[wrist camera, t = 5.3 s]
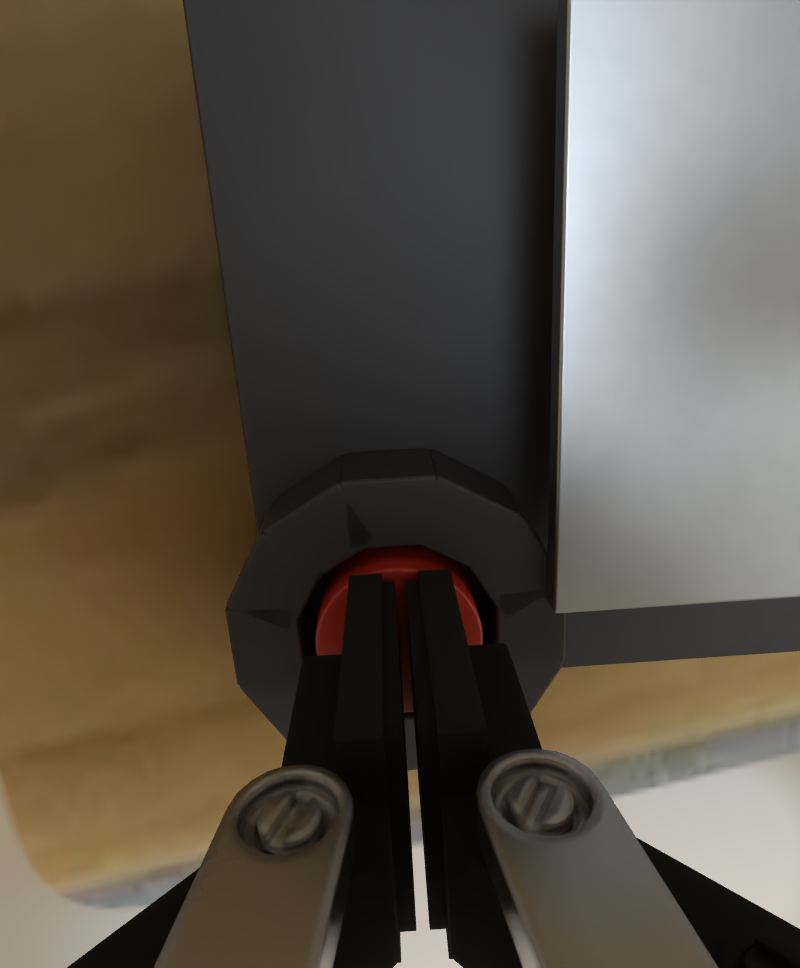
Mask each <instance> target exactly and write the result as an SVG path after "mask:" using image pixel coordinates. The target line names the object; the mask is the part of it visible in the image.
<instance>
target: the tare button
mask: <svg viewBox="0 0 800 968" xmlns="http://www.w3.org/2000/svg"><path fill="white" fill-rule="evenodd" d="M438 569H450V570H451V574H452V578H453V583H454V587H455V591H456V596H457V600H458V604H459V609H460V613H461V617H462V622H463V626H464V630H465V634H466V639H467V643H468V645H483V631H482V625H481V621H480V617H479V613H478V610H477V606H476V603H475V599H474V596H473V592H472V589H471V585H470V582H469V578H468V576H467V573H466V571H465V569H464V567H463V566H462V564H461V563H459V562H457V561H455V560H453V559H450V558H448V557H446V556H444V555H441V554H439V553H437V552H435V551H432V550H430V549H428V548H426V547H424V546H421V545H412V546H397V547H382V548H367V549H364V550H362V551H360V552H359V553H357V554H356V555H354V556H352V557H351V558H349V559H347V560H346V561H344V562H343V563H341V564H339V565H338V566H336V567H335V568H333V569H331V570H330V571H329V572H328V574H327V577H326V579H325V583H324V587H323V592H322V598H321V604H320V610H319V616H318V622H317V629H316V637H315V643H316V652H317V656H319V655H334V654H342V646H343V636H344V625H345V615H346V604H347V594H348V583H349V575H362V574H378V573H382V579H383V582H387V581H395V586H396V601H397V616H398V631H399V645H400V660H401V675H402V690H403V705H404V713H406V712H414V711H413V695H412V678H411V662H410V646H409V629H408V613H407V597H406V580H417V579H418V571H423V570H438Z"/></svg>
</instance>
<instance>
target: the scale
mask: <svg viewBox="0 0 800 968" xmlns="http://www.w3.org/2000/svg"><path fill="white" fill-rule="evenodd" d="M183 6H184V13H185V20H186V27H187V34H188V41H189V48H190V55H191V62H192V69H193V77H194V84H195V91H196V98H197V105H198V112H199V119H200V126H201V133H202V141H203V148H204V155H205V162H206V169H207V176H208V183H209V190H210V197H211V205H212V212H213V219H214V226H215V233H216V240H217V247H218V254H219V261H220V268H221V276H222V283H223V290H224V297H225V304H226V311H227V318H228V325H229V332H230V340H231V347H232V354H233V361H234V368H235V375H236V382H237V389H238V396H239V403H240V411H241V418H242V425H243V432H244V439H245V446H246V453H247V460H248V467H249V475H250V482H251V489H252V496H253V503H254V510H255V517H256V524H257V531H258V535H257V537H256V539H255V541H254V543H253V546H252V548H251V550H250V552H249V554H248V556H247V558H246V560H245V563H244V565H243V567H242V569H241V572H240V574H239V576H238V578H237V581H236V583H235V585H234V588H233V590H232V592H231V594H230V597H229V599H228V601H227V607H226V610H225V612H226V618H227V624H228V630H229V636H230V642H231V648H232V654H233V660H234V666H235V672H236V678H237V683H238V685H240V688H241V689H242V690H243V692H244V693H245V694H246V695H247V696H248V697H249V698H250V699H251V701H252V702H253V703H254V704H255V705H256V706H257V707H258V708H259V709H260V711H261V712H262V713H263V714H264V715H265V716H266V717H267V718H268V720H269V721H270V722H271V723H272V724H273V725H274V726H275V727H276V728H277V730H278V731H279V732H280V733H281V734H282V735H283V736H284V737H285V739H286V740H287V736H288V731H289V726H290V721H291V716H292V711H293V705H294V700H295V695H296V690H297V685H298V680H299V674H300V669H301V664H302V660H303V658H304V657H305V656H317V652H316V643H315V637H316V629H317V622H318V616H319V610H320V604H321V598H322V592H323V587H324V583H325V579H326V577H327V574H328V572H329V571H330V570H331V569H333V568H335V567H336V566H338V565H339V564H341V563H343V562H344V561H346V560H347V559H349V558H351V557H352V556H354V555H356V554H357V553H359V552H360V551H362V550H364V549H367V548H382V547H397V546H412V545H421V546H424V547H426V548H428V549H430V550H432V551H435V552H437V553H439V554H441V555H444V556H446V557H448V558H450V559H453V560H455V561H457V562H459V563H461V564H462V566H463V567H464V569H465V571H466V573H467V576H468V578H469V582H470V585H471V589H472V592H473V596H474V599H475V603H476V606H477V610H478V613H479V617H480V621H481V625H482V631H483V644H498V643H505V644H506V645H507V647H508V649H509V652H510V655H511V658H512V661H513V664H514V667H515V670H516V673H517V676H518V679H519V682H520V685H521V688H522V691H523V694H524V697H525V700H526V703H527V706H528V709H529V712H530V713H531V711H532V710H533V708H534V707H535V706H536V704H537V703H538V701H539V700H540V698H541V697H542V695H543V694H544V692H545V691H546V689H547V688H548V686H549V685H550V683H551V682H552V680H553V679H554V677H555V676H556V674H557V673H558V671H559V670H560V668H561V667H575V666H589V665H604V664H618V663H633V662H647V661H661V660H676V659H690V658H705V657H719V656H734V655H748V654H763V653H777V652H792V651H800V597H789V598H775V599H760V600H745V601H731V602H716V603H701V604H687V605H672V606H657V607H643V608H628V609H613V610H599V611H584V612H569V613H554V612H553V610H552V608H551V606H550V604H549V602H548V600H547V567H548V513H549V459H550V405H551V351H552V297H553V242H554V188H555V134H556V80H557V26H558V0H183ZM404 720H405V736H406V754H407V770H416V769H418V767H417V753H416V740H415V726H414V712H406V713H404Z"/></svg>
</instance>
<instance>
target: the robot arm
mask: <svg viewBox="0 0 800 968" xmlns="http://www.w3.org/2000/svg"><path fill="white" fill-rule="evenodd" d="M406 597H407V613H408V629H409V646H410V662H411V678H412V695H413V711H414V726H415V740H416V753H417V767H418V780H419V793H420V806H421V819H422V832H423V845H424V857H425V871H426V884H427V898H428V911H429V924H430V930H431V929H445V928H446V932H447V942H448V952H449V959H454V960H455V961H456V962H457V963H459V964H460V965H461V966H462V967H463V968H800V929H799V928H797V927H795V926H793V925H791V924H789V923H788V922H786V921H784V920H783V919H781V918H779V917H777V916H775V915H774V914H772V913H770V912H768V911H766V910H765V909H763V908H761V907H759V906H758V905H756V904H754V903H752V902H750V901H748V900H747V899H745V898H743V897H741V896H740V895H738V894H736V893H734V892H733V891H730V890H729V889H727V888H725V887H724V886H722V885H720V884H718V883H717V882H715V881H713V880H711V879H709V878H708V877H706V876H704V875H702V874H700V873H699V872H697V871H695V870H693V869H691V868H690V867H688V866H686V865H684V864H683V863H681V862H679V861H677V860H675V859H674V858H672V857H670V856H668V855H667V854H665V853H663V852H661V851H659V850H658V849H656V848H654V847H652V846H650V845H649V844H647V843H645V842H643V841H642V840H640V839H638V838H636V837H635V835H634V834H633V832H632V830H631V829H630V827H629V826H628V824H627V823H626V821H625V819H624V818H623V816H622V815H621V813H620V811H619V810H618V808H617V807H616V805H615V804H614V802H613V800H612V799H611V797H610V796H609V794H608V793H607V791H606V789H605V788H604V786H603V785H602V783H601V782H600V781H599V779H598V778H597V777H596V776H595V775H594V774H593V772H592V771H591V770H590V769H589V768H587V767H586V766H584V765H583V764H581V763H580V762H578V761H577V760H576V759H574V758H572V757H569V756H566V755H564V754H561V753H559V752H556V751H550V750H543V749H542V748H541V745H540V742H539V739H538V736H537V733H536V730H535V727H534V724H533V721H532V718H531V715H530V712H529V709H528V706H527V703H526V700H525V697H524V694H523V691H522V688H521V685H520V682H519V679H518V676H517V673H516V670H515V667H514V664H513V661H512V658H511V655H510V652H509V649H508V647H507V645H506V644H505V643H498V644H483V645H468V643H467V639H466V634H465V630H464V626H463V622H462V617H461V613H460V609H459V604H458V600H457V596H456V591H455V587H454V583H453V578H452V574H451V570H450V569H438V570H423V571H418V579H417V580H406ZM404 931H416V916H415V899H414V880H413V863H412V844H411V826H410V808H409V790H408V772H407V754H406V736H405V720H404V705H403V690H402V675H401V660H400V645H399V631H398V616H397V601H396V586H395V581H387V582H383V579H382V573H378V574H362V575H349V583H348V594H347V604H346V615H345V625H344V636H343V646H342V654H334V655H319V656H305V657H304V658H303V660H302V664H301V669H300V674H299V680H298V685H297V690H296V695H295V700H294V705H293V711H292V716H291V721H290V726H289V731H288V736H287V742H286V747H285V752H284V757H283V762H282V767H281V768H277V769H274V770H271V771H268V772H266V773H264V774H262V775H261V776H259V777H257V778H255V779H253V780H251V781H250V782H249V783H248V784H247V785H246V786H245V787H243V788H242V789H241V790H240V791H239V792H238V793H237V794H236V796H235V797H234V799H233V800H232V802H231V803H230V805H229V806H228V808H227V810H226V812H225V814H224V816H223V818H222V820H221V823H220V825H219V827H218V829H217V831H216V833H215V836H214V838H213V840H212V842H211V844H210V846H209V849H208V851H207V853H206V855H205V857H204V859H203V862H202V864H201V866H200V868H199V869H197V870H196V871H195V872H193V873H192V874H191V875H189V876H188V877H187V878H185V879H184V880H183V881H181V882H180V883H179V884H177V885H176V886H175V887H173V888H172V889H171V890H169V891H168V892H167V893H165V894H164V895H163V896H161V897H160V898H159V899H158V900H156V901H155V902H154V903H152V904H151V905H150V906H148V907H147V908H146V909H144V910H143V911H142V912H140V913H139V914H138V915H136V916H135V917H134V918H132V919H131V920H130V921H128V922H127V923H126V924H125V925H123V926H122V927H120V928H119V929H118V930H116V931H115V932H114V933H112V934H111V935H110V936H108V937H107V938H106V939H104V940H103V941H102V942H100V943H99V944H98V945H96V946H95V947H94V948H93V949H91V950H90V951H88V952H87V953H86V954H85V955H83V956H82V957H81V958H79V959H78V960H77V961H75V962H74V963H73V964H71V965H70V966H69V967H68V968H393V967H394V966H395V965H396V964H397V963H399V962H401V947H400V932H404Z"/></svg>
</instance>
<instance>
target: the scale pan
mask: <svg viewBox="0 0 800 968" xmlns="http://www.w3.org/2000/svg"><path fill="white" fill-rule="evenodd" d="M789 597H800V0H558V26H557V80H556V134H555V188H554V242H553V297H552V351H551V405H550V459H549V513H548V567H547V600H548V602H549V604H550V606H551V608H552V610H553V612H554V613H569V612H584V611H599V610H613V609H628V608H643V607H657V606H672V605H687V604H701V603H716V602H731V601H745V600H760V599H775V598H789Z"/></svg>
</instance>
